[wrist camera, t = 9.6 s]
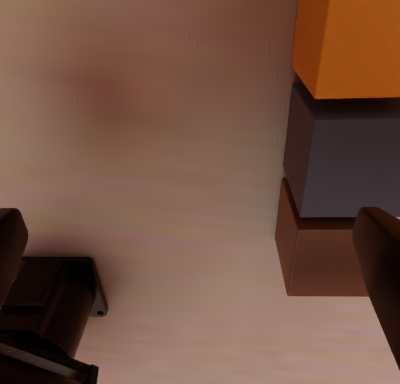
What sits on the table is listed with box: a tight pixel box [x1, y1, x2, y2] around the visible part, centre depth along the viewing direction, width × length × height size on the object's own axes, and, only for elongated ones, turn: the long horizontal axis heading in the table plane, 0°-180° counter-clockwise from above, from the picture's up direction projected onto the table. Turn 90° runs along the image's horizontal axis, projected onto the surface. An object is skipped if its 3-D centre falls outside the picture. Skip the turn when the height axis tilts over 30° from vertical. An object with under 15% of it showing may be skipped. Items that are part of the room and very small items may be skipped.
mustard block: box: [292, 0, 400, 99], centre depth 14 cm, size 5×5×5 cm
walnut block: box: [275, 178, 369, 297], centre depth 20 cm, size 5×5×5 cm
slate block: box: [283, 84, 400, 217], centre depth 17 cm, size 5×5×5 cm
